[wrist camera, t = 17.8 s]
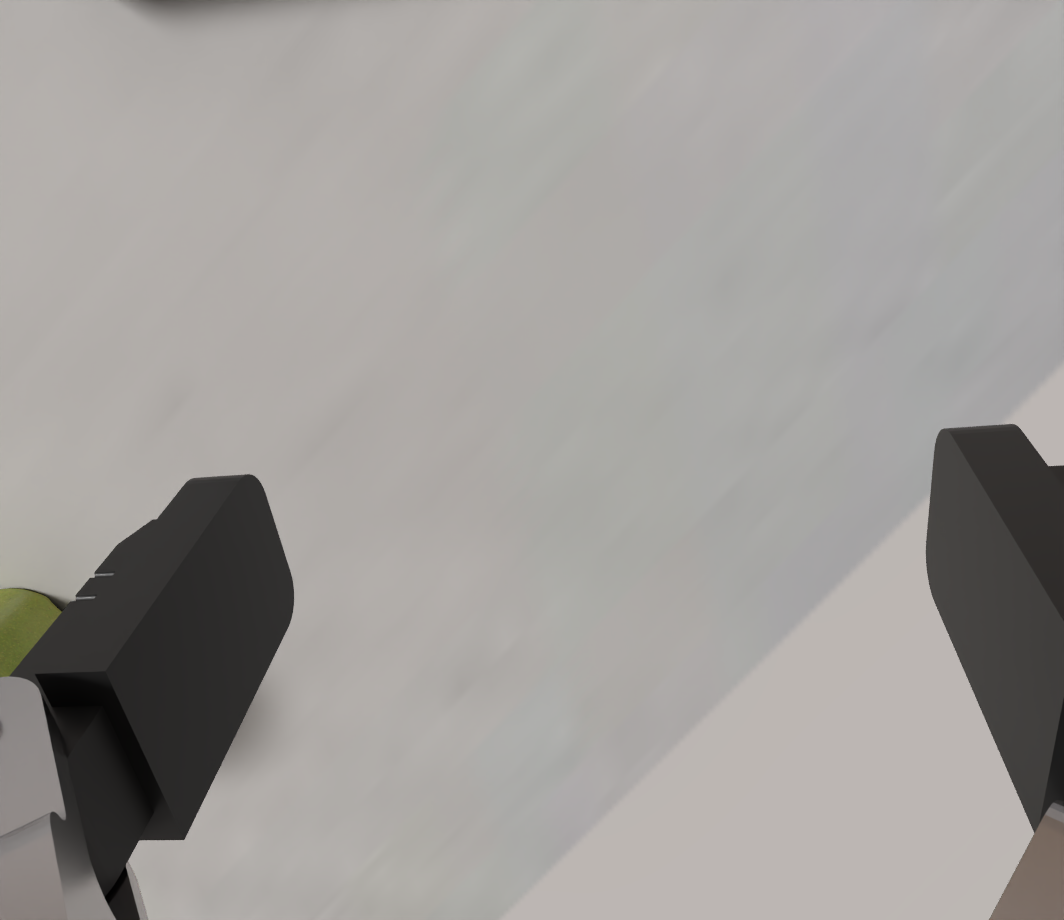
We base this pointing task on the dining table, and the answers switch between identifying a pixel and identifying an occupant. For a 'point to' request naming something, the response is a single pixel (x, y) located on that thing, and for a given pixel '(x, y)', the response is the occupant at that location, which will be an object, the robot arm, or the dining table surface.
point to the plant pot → (22, 625)
